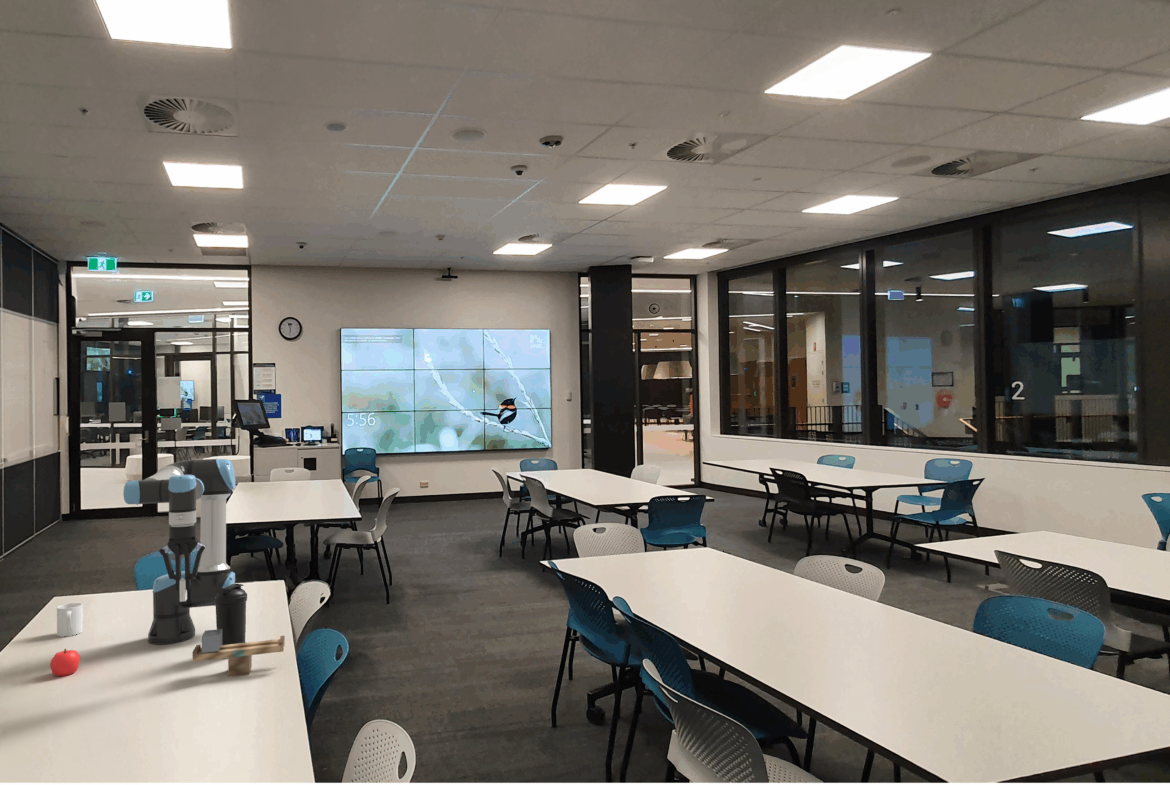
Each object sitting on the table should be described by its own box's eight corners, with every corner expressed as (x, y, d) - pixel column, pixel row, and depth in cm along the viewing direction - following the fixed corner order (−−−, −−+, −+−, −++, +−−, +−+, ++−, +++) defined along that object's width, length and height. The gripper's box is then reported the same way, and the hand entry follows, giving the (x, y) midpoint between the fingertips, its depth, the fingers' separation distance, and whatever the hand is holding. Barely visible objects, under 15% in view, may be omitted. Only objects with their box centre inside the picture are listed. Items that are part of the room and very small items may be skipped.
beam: (192, 681, 229) (192, 652, 229) (196, 672, 236) (196, 644, 236) (283, 670, 237) (283, 642, 237) (284, 662, 244) (284, 635, 244)
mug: (57, 632, 279) (57, 605, 279) (83, 629, 283) (82, 601, 283) (55, 641, 269) (55, 612, 269) (81, 637, 273) (81, 609, 273)
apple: (77, 667, 243) (77, 642, 243) (83, 673, 237) (82, 648, 237) (47, 673, 237) (47, 648, 237) (52, 680, 231) (52, 654, 231)
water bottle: (254, 650, 257) (253, 584, 257) (229, 660, 247) (228, 591, 247) (233, 646, 261) (233, 581, 261) (208, 656, 252) (207, 588, 252)
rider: (201, 659, 230) (201, 636, 230) (205, 652, 237) (205, 630, 237) (219, 657, 232) (219, 634, 232) (222, 650, 238) (222, 628, 238)
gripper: (156, 528, 226) (156, 605, 226) (204, 525, 230) (204, 601, 230) (161, 524, 233) (162, 599, 233) (207, 521, 238) (208, 595, 237)
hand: (183, 600), depth 232 cm, fingers closed
